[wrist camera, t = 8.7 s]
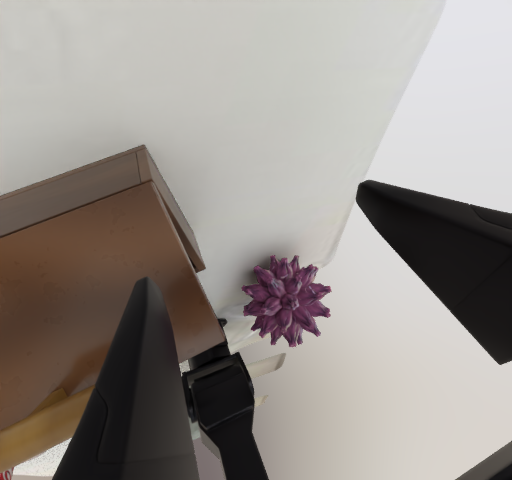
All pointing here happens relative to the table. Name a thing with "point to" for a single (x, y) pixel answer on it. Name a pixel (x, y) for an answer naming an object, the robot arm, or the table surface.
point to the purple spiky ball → (286, 300)
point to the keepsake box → (93, 195)
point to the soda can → (6, 474)
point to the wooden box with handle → (84, 310)
